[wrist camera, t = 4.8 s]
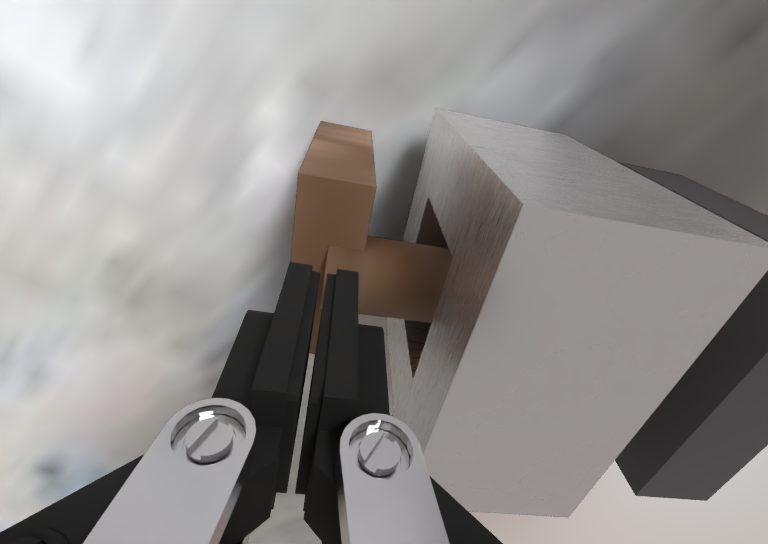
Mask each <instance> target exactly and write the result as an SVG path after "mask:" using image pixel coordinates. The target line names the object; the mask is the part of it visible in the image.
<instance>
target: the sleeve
mask: <svg viewBox="0 0 768 544" xmlns="http://www.w3.org/2000/svg"><path fill="white" fill-rule="evenodd" d="M403 241H404V242H410V243H417V244H423V245H430V246H436V247H442V248H449V250H450V253H451V255H452V258H453V259H452V262H451V265H450V268H449V272H448V275H447V278H446V281H445V284H444V287H443V290H442V293H441V296H440V299H439V302H438V305H437V308H436V311H435V314H434V317H433V320H432V323H428V322H420V321H412V320H404V319H396V318H389V317H386V320H387V332H388V344H389V356H390V368H391V380H392V392H393V404H394V416H395V418H397V419H399V420H400V421H402V422H403V423H404V424H406V425H407V426H408V427H409V428H410V429H411V430H412V432H413V433H414V434H415V435H416V437H417V439H418V442H419V444H420V446H421V449H422V453H423V456H424V460H425V463H426V466H427V470H428V473H429V475H430V476H431V477H432V478H433V479H434V480H435V481H436V482H437V483H438V484H439V485H440V486H441V487H442V488H443V489H445V490H446V491H447V492H448V493H449V494H450V495H451V496H452V497H453V498H454V499H455V500H456V501H457V502H459V503H460V504H461V505H462V506H463V507H464V508H465V509H466V510H467V511H469V512H486V513H503V514H519V515H536V516H553V517H569V516H570V515H571V514H572V512H573V511H574V510H575V509H576V507H577V506H578V505H579V504H580V503H581V501H582V500H583V499H584V498H585V496H586V495H587V494H588V493H589V491H590V490H591V489H592V488H593V486H594V485H595V484H596V482H597V481H598V480H599V479H600V478H601V476H602V475H603V474H604V473H605V472H606V470H607V469H608V468H609V466H610V465H611V464H612V463H613V462H614V460H615V459H616V458H617V457H618V455H619V454H620V453H621V452H622V450H623V449H624V448H625V447H626V445H627V444H628V443H629V442H630V441H631V439H632V438H633V437H634V436H635V434H636V433H637V432H638V431H639V429H640V428H641V427H642V426H643V424H644V423H645V422H646V421H647V419H648V418H649V417H650V416H651V414H652V413H653V412H654V411H655V410H656V408H657V407H658V406H659V405H660V403H661V402H662V401H663V400H664V398H665V397H666V396H667V395H668V393H669V392H670V391H671V390H672V388H673V387H674V386H675V385H676V383H677V382H678V381H679V380H680V379H681V377H682V376H683V375H684V374H685V372H686V371H687V370H688V369H689V367H690V366H691V365H692V364H693V362H694V361H695V360H696V359H697V357H698V356H699V355H700V354H701V352H702V351H703V350H704V349H705V347H706V346H707V345H708V344H709V343H710V341H711V340H712V339H713V338H714V336H715V335H716V334H717V333H718V331H719V330H720V329H721V328H722V326H723V325H724V324H725V323H726V321H727V320H728V319H729V318H730V316H731V315H732V314H733V313H734V312H735V310H736V309H737V308H738V307H739V305H740V304H741V303H742V302H743V300H744V299H745V298H746V297H747V295H748V294H749V293H750V292H751V290H752V289H753V288H754V287H755V285H756V284H757V283H758V282H759V281H760V279H761V278H762V277H763V276H764V274H765V273H766V272H767V271H768V242H767V241H765V240H763V239H761V238H759V237H757V236H755V235H753V234H752V233H750V232H748V231H746V230H744V229H742V228H740V227H738V226H736V225H735V224H733V223H731V222H729V221H727V220H725V219H723V218H721V217H719V216H718V215H716V214H714V213H712V212H710V211H708V210H706V209H704V208H702V207H701V206H699V205H697V204H695V203H693V202H691V201H689V200H687V199H686V198H684V197H682V196H680V195H678V194H676V193H674V192H672V191H670V190H669V189H667V188H665V187H663V186H661V185H659V184H657V183H655V182H653V181H652V180H650V179H648V178H646V177H644V176H642V175H640V174H638V173H636V172H635V171H633V170H631V169H629V168H627V167H625V166H623V165H621V164H619V163H618V162H616V161H614V160H612V159H610V158H608V157H606V156H604V155H602V154H601V153H599V152H597V151H595V150H593V149H591V148H589V147H587V146H585V145H584V144H582V143H580V142H578V141H576V140H574V139H572V138H570V137H568V136H567V135H564V134H559V133H554V132H549V131H545V130H540V129H535V128H530V127H525V126H520V125H516V124H511V123H506V122H501V121H496V120H491V119H487V118H482V117H477V116H472V115H467V114H463V113H458V112H453V111H448V110H443V109H438V108H435V112H434V116H433V121H432V125H431V129H430V133H429V137H428V141H427V145H426V149H425V153H424V157H423V161H422V165H421V169H420V173H419V177H418V181H417V185H416V189H415V193H414V197H413V201H412V205H411V209H410V213H409V218H408V222H407V226H406V230H405V234H404V238H403Z"/></svg>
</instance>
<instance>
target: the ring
mask: <svg viewBox="0 0 768 544" xmlns="http://www.w3.org/2000/svg"><path fill="white" fill-rule="evenodd" d="M620 164H621V165H623V166H625V167H627V168H629V169H631V170H633V171H635V172H636V173H638V174H640V175H642V176H644V177H646V178H648V179H650V180H652V181H653V182H655V183H657V184H659V185H661V186H663V187H665V188H667V189H669V190H670V191H672V192H674V193H676V194H678V195H680V196H682V197H684V198H686V199H687V200H689V201H691V202H693V203H695V204H697V205H699V206H701V207H702V208H704V209H706V210H708V211H710V212H712V213H714V214H716V215H718V216H719V217H721V218H723V219H725V220H727V221H729V222H731V223H733V224H735V225H736V226H738V227H740V228H742V229H744V230H746V231H748V232H750V233H752V234H753V235H755V236H757V237H759V238H761V239H763V240H765V241H767V242H768V216H767V215H765V214H763V213H760V212H758V211H756V210H754V209H752V208H750V207H748V206H745V205H743V204H741V203H739V202H737V201H735V200H733V199H730V198H728V197H726V196H724V195H722V194H720V193H717V192H715V191H713V190H711V189H709V188H707V187H705V186H702V185H700V184H698V183H696V182H694V181H692V180H690V179H687V178H685V177H683V176H681V175H679V174H674V173H669V172H664V171H659V170H654V169H649V168H644V167H639V166H634V165H629V164H624V163H620ZM767 445H768V271H767V272H766V273H765V274H764V276H763V277H762V278H761V279H760V281H759V282H758V283H757V284H756V285H755V287H754V288H753V289H752V290H751V292H750V293H749V294H748V295H747V297H746V298H745V299H744V300H743V302H742V303H741V304H740V305H739V307H738V308H737V309H736V310H735V312H734V313H733V314H732V315H731V316H730V318H729V319H728V320H727V321H726V323H725V324H724V325H723V326H722V328H721V329H720V330H719V331H718V333H717V334H716V335H715V336H714V338H713V339H712V340H711V341H710V343H709V344H708V345H707V346H706V347H705V349H704V350H703V351H702V352H701V354H700V355H699V356H698V357H697V359H696V360H695V361H694V362H693V364H692V365H691V366H690V367H689V369H688V370H687V371H686V372H685V374H684V375H683V376H682V377H681V379H680V380H679V381H678V382H677V383H676V385H675V386H674V387H673V388H672V390H671V391H670V392H669V393H668V395H667V396H666V397H665V398H664V400H663V401H662V402H661V403H660V405H659V406H658V407H657V408H656V410H655V411H654V412H653V413H652V414H651V416H650V417H649V418H648V419H647V421H646V422H645V423H644V424H643V426H642V427H641V428H640V429H639V431H638V432H637V433H636V434H635V436H634V437H633V438H632V439H631V441H630V442H629V443H628V444H627V445H626V447H625V448H624V449H623V450H622V452H621V453H620V454H619V455H618V457H617V458H616V459H615V461H616V463H617V464H618V466H619V468H620V470H621V471H622V473H623V475H624V476H625V478H626V480H627V482H628V483H629V485H630V487H631V488H632V490H633V492H634V493H635V495H636V496H649V497H663V498H678V499H691V500H708V499H709V498H710V497H711V496H712V495H713V494H714V493H716V492H717V491H718V490H719V489H720V488H721V487H722V486H723V485H724V484H725V483H726V482H727V481H729V480H730V479H731V478H732V477H733V476H734V475H735V474H736V473H737V472H738V471H739V470H741V468H743V467H744V466H745V465H746V464H747V463H748V462H749V461H750V460H752V459H753V458H754V457H755V456H756V455H757V454H758V453H759V452H760V451H761V450H763V449H764V448H765V447H766V446H767Z"/></svg>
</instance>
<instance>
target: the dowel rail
mask: <svg viewBox="0 0 768 544" xmlns="http://www.w3.org/2000/svg"><path fill="white" fill-rule="evenodd" d="M376 187H377V186H376V175H375V164H374V154H373V143H372V132H371V131H369V130H364V129H359V128H353V127H348V126H343V125H338V124H333V123H328V122H323V121H321V122H320V124H319V127H318V129H317V131H316V134H315V136H314V138H313V141H312V143H311V145H310V147H309V150H308V152H307V154H306V157H305V159H304V161H303V164H302V166H301V168H300V171H299V173H298V183H297V194H296V205H295V217H294V228H293V239H292V250H291V262H295V263H302V264H308V265H313V268H312V271H316V272H320V279H319V287H318V294H317V301H316V308H315V315H314V322H313V329H312V336H311V343H310V350H309V353H312V354H315V352H316V345H317V339H318V332H319V326H320V319H321V313H322V306H323V300H324V293H325V286H326V280H327V274H328V273H330V274H336V271H337V269H342V270H349V271H356V272H359V290H358V314H365V315H373V316H381V317H389V318H396V319H404V320H412V321H420V322H428V323H432V320H433V317H434V314H435V311H436V308H437V305H438V302H439V299H440V296H441V293H442V290H443V287H444V284H445V281H446V278H447V275H448V272H449V268H450V265H451V262H452V259H453V258H452V255H451V253H450V250H449V248H442V247H436V246H430V245H423V244H417V243H410V242H404V241H398V240H391V239H385V238H378V237H372V236H367V233H368V228H369V223H370V218H371V213H372V208H373V202H374V197H375V192H376Z"/></svg>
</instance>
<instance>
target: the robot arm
mask: <svg viewBox="0 0 768 544" xmlns="http://www.w3.org/2000/svg"><path fill="white" fill-rule="evenodd" d="M312 268H313V265H308V264H302V263H295V262H290V264H289V267H288V270H287V274H286V277H285V280H284V283H283V287H282V290H281V293H280V297H279V300H278V303H277V306H276V310H275V313H267V312H260V311H252V310H248V311H247V313H246V315H245V317H244V320H243V322H242V325H241V327H240V330H239V332H238V335H237V337H236V339H235V342H234V344H233V347H232V349H231V352H230V354H229V357H228V359H227V362H226V364H225V367H224V369H223V372H222V374H221V377H220V379H219V381H218V384H217V386H216V389H215V391H214V394H213V396H212V398H210V399H203V400H200V401H197V402H194V403H192V404H189V405H187V406H186V407H184V408H182V409H181V410H179V411H178V412H176V413H175V414H174V415H173V416H172V417H171V419H170V420H169V421H168V422H167V423H166V424H165V426H164V427H163V428H162V430H161V431H160V433H159V434H158V436H157V437H156V439H155V440H154V441H153V443H152V444H151V446H150V447H149V449H148V450H147V452H146V453H145V454H144V455H142V456H140V457H138V458H137V459H135V460H133V461H131V462H129V463H127V464H126V465H124V466H122V467H120V468H118V469H116V470H115V471H113V472H111V473H109V474H107V475H105V476H103V477H102V478H100V479H98V480H96V481H94V482H92V483H91V484H89V485H87V486H85V487H83V488H81V489H80V490H78V491H76V492H74V493H72V494H70V495H69V496H67V497H65V498H63V499H61V500H59V501H57V502H56V503H54V504H52V505H50V506H48V507H46V508H45V509H43V510H41V511H39V512H37V513H35V514H34V515H32V516H30V517H28V518H26V519H24V520H23V521H21V522H19V523H17V524H15V525H13V526H11V527H10V528H8V529H6V530H4V531H2V532H0V544H247V543H248V539H249V534H250V533H251V532H252V531H253V530H255V529H256V528H257V527H258V526H260V525H261V524H262V523H263V522H264V521H266V520H267V519H268V518H269V517H270V513H271V509H273V507H274V502H275V496H276V492H279V493H286V492H287V487H288V481H289V474H290V468H291V462H292V456H293V450H294V444H295V437H296V431H297V425H298V419H299V413H300V407H301V400H302V394H303V388H304V382H305V376H306V370H307V363H308V357H309V350H310V343H311V336H312V329H313V322H314V315H315V308H316V301H317V294H318V287H319V279H320V272H316V271H312ZM358 290H359V272H356V271H349V270H342V269H337V271H336V274H330V273H328V274H327V280H326V286H325V293H324V300H323V306H322V313H321V319H320V326H319V332H318V339H317V345H316V352H315V359H314V365H313V372H312V379H311V386H310V393H309V400H308V407H307V414H306V421H305V428H304V435H303V442H302V449H301V456H300V463H299V470H298V477H297V484H296V491H295V494H305V501H304V509H303V511H305V513H304V520H305V521H306V523H307V524H308V525H309V526H310V528H311V529H312V530H313V531H314V533H315V534H316V535H317V536H318V544H503V543H501V542H500V541H499V540H498V539H497V538H496V537H495V536H494V535H493V534H492V533H491V532H489V530H487V529H486V528H485V527H484V526H483V525H482V524H481V523H480V522H479V521H478V520H477V519H476V518H475V517H474V516H472V515H471V514H470V513H469V512H468V511H467V510H466V509H465V508H464V507H463V506H462V505H461V504H460V503H459V502H457V501H456V500H455V499H454V498H453V497H452V496H451V495H450V494H449V493H448V492H447V491H446V490H445V489H443V488H442V487H441V486H440V485H439V484H438V483H437V482H436V481H435V480H434V479H433V478H432V477H431V476H430V475H429V473H428V470H427V466H426V463H425V460H424V456H423V453H422V449H421V446H420V444H419V442H418V439H417V437H416V435H415V434H414V433H413V432H412V430H411V429H410V428H409V427H408V426H407V425H406V424H404V423H403V422H402V421H400V420H399V419H397V418H394V417H392V416H390V415H389V401H388V387H387V373H386V358H385V344H384V332H383V328H382V327H376V326H368V325H360V324H358Z"/></svg>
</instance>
